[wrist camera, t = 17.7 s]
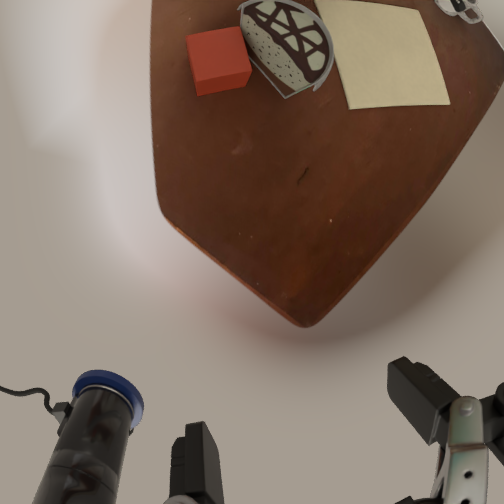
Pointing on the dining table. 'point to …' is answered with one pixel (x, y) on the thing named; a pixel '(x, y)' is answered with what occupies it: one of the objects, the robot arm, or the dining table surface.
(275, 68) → the food container
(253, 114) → the dining table surface
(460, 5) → the mug
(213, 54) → the red block
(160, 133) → the dining table surface
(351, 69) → the linen cloth
